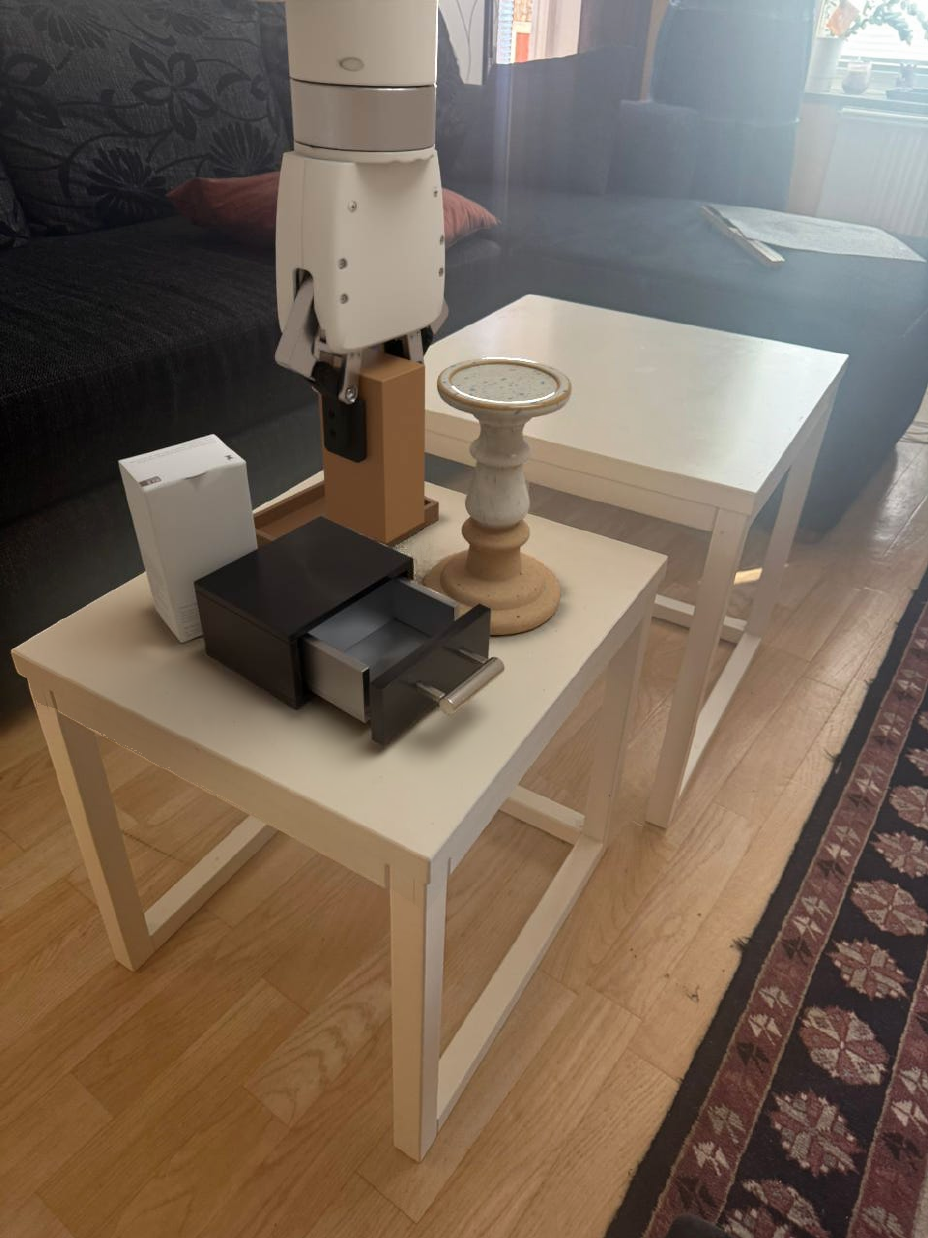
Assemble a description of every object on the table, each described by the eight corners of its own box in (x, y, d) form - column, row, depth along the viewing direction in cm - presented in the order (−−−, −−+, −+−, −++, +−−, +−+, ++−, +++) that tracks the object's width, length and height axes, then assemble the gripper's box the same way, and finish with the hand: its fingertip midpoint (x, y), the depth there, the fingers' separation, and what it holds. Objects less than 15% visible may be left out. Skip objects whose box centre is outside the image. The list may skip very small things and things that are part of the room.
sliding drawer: (526, 681, 68) (531, 627, 64) (423, 771, 60) (424, 714, 56) (398, 617, 74) (398, 564, 71) (290, 690, 66) (284, 635, 63)
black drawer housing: (414, 628, 74) (413, 557, 70) (297, 710, 65) (288, 635, 61) (326, 583, 79) (320, 515, 75) (206, 654, 71) (192, 581, 66)
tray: (326, 586, 79) (324, 567, 78) (237, 541, 85) (234, 522, 84) (438, 519, 89) (439, 501, 88) (352, 483, 95) (352, 466, 94)
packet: (385, 544, 57) (381, 381, 51) (326, 517, 60) (315, 359, 53) (424, 522, 60) (425, 364, 53) (366, 497, 62) (360, 344, 56)
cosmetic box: (240, 582, 79) (217, 429, 70) (270, 614, 75) (250, 457, 66) (149, 613, 75) (114, 454, 66) (177, 648, 71) (143, 485, 62)
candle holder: (398, 610, 76) (394, 389, 64) (462, 547, 85) (469, 342, 73) (526, 653, 72) (547, 425, 60) (580, 581, 81) (607, 370, 69)
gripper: (414, 106, 53) (411, 394, 64) (189, 124, 42) (231, 468, 53) (513, 120, 50) (493, 422, 60) (296, 142, 39) (318, 508, 49)
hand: (371, 441), depth 56 cm, fingers closed on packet, 4 cm apart
